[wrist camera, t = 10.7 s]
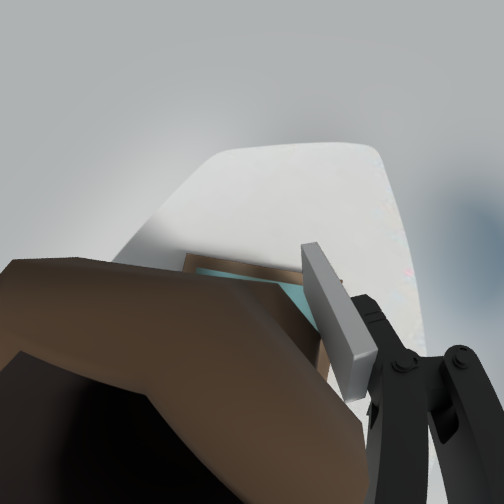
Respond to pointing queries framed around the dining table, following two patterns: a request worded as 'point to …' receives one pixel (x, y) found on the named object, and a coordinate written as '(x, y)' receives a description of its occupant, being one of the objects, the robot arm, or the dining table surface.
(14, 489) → the beer bottle
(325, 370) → the display base
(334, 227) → the dining table surface
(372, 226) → the dining table surface
